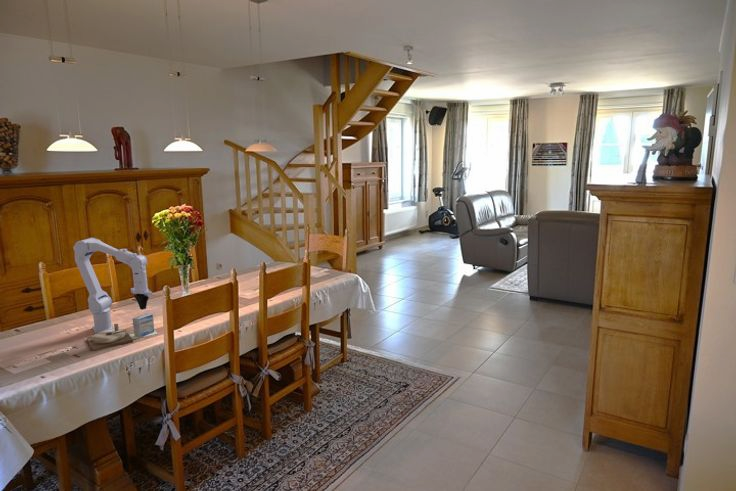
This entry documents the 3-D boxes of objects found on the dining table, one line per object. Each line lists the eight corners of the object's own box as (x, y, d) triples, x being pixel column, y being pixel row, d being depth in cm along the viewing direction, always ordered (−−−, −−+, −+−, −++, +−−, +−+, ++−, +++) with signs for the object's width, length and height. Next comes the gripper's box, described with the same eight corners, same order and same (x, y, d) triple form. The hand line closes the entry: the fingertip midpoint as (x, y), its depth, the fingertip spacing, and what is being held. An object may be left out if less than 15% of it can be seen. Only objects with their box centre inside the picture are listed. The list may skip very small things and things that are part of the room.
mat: (128, 335, 228) (128, 334, 228) (153, 329, 235) (153, 329, 235) (132, 339, 223) (132, 339, 223) (157, 333, 229) (157, 333, 229)
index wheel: (112, 344, 213) (110, 334, 212) (85, 342, 216) (84, 332, 215) (131, 333, 226) (130, 323, 225) (106, 331, 228) (105, 322, 228)
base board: (86, 339, 223) (86, 337, 222) (125, 331, 232) (124, 329, 232) (92, 350, 210) (92, 348, 210) (133, 341, 220) (132, 339, 219)
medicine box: (141, 337, 225) (139, 319, 223) (134, 336, 227) (132, 318, 225) (154, 331, 232) (153, 314, 230) (148, 330, 234) (146, 312, 232)
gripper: (123, 280, 231) (126, 308, 233) (141, 285, 223) (144, 313, 225) (137, 277, 236) (140, 304, 239) (155, 281, 228) (158, 309, 231)
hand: (143, 308), depth 233 cm, fingers closed
